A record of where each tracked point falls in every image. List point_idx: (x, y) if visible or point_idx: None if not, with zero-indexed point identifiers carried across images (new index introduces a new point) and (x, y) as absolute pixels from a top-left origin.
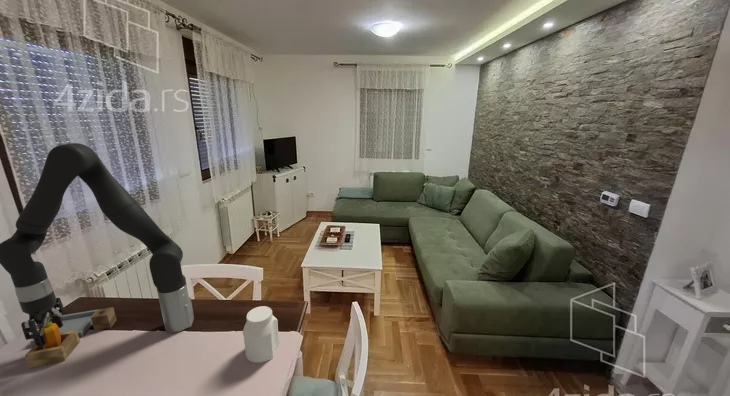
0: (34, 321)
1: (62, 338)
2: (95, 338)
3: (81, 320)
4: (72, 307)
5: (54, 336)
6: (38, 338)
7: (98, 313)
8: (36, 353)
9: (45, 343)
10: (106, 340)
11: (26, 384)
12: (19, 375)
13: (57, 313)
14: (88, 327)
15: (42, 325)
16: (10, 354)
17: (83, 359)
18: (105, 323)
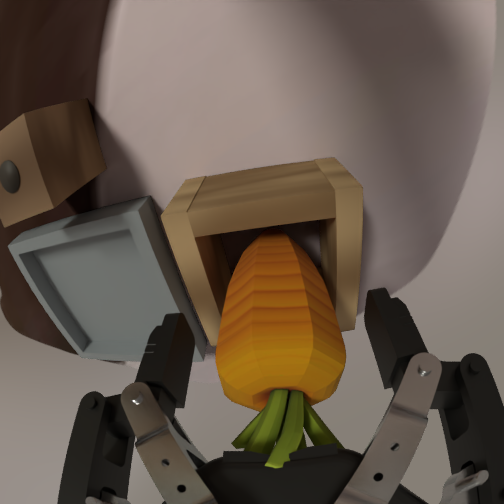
0: (490, 500)
1: (211, 261)
2: (164, 113)
3: (65, 277)
4: (40, 337)
5: (308, 288)
6: (422, 350)
7: (19, 191)
8: (357, 294)
9: (382, 290)
10: (192, 34)
11: (431, 226)
12: (369, 283)
13: (169, 446)
14: (92, 213)
15: (418, 437)
16: None
17: (346, 66)
18: (69, 120)
